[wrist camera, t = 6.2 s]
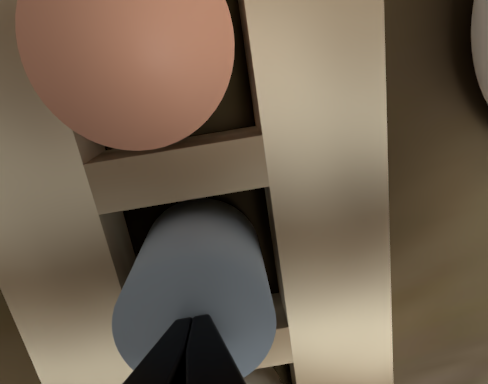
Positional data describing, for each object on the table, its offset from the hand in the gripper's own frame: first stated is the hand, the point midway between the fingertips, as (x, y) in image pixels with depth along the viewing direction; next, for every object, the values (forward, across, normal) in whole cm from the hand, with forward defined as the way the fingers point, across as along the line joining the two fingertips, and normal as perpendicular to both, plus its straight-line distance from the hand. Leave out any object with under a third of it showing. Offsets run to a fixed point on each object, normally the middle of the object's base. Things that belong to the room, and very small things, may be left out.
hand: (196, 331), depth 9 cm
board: (+4, 0, 0) cm, 4 cm away
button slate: (+4, 0, 0) cm, 4 cm away
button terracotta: (+4, 0, -7) cm, 8 cm away
